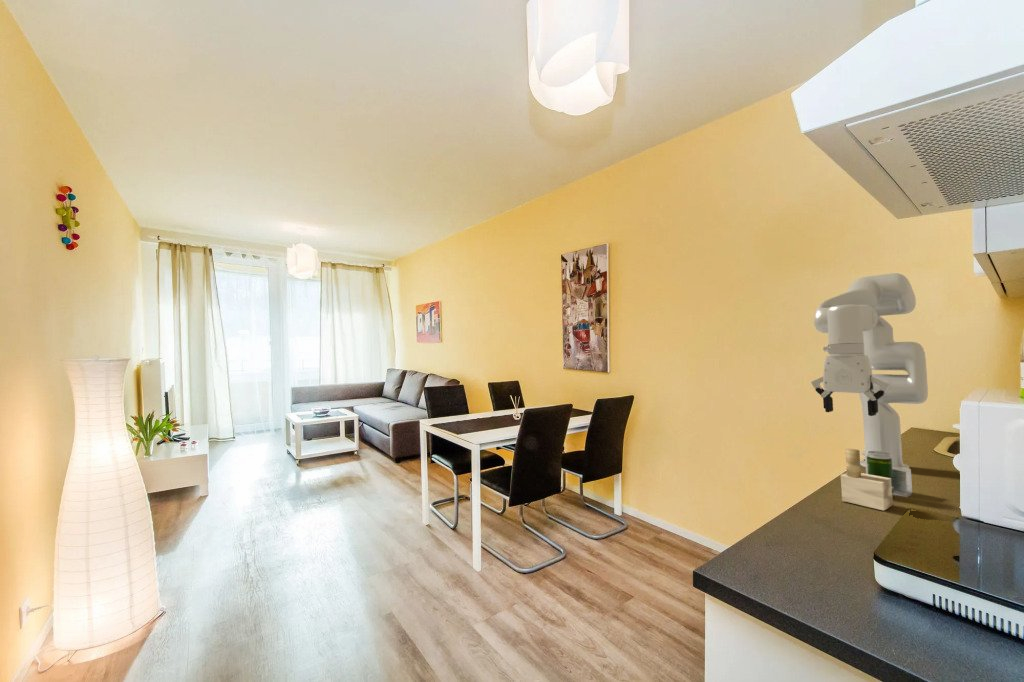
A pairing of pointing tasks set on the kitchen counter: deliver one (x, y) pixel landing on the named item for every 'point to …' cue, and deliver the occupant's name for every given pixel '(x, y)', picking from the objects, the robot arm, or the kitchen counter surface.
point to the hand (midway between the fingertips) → (850, 413)
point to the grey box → (901, 481)
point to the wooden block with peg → (864, 485)
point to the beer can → (880, 465)
